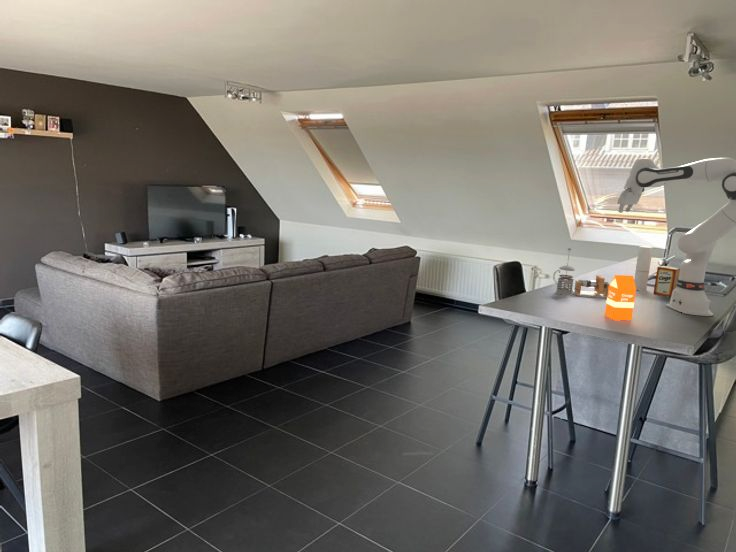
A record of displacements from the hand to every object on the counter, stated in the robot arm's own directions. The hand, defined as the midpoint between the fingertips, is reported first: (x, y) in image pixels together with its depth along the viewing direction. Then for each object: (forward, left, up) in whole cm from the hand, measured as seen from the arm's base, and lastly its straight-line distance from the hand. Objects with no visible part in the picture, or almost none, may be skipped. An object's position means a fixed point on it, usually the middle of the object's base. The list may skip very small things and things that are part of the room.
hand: (623, 212), depth 297 cm
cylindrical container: (+17, -20, -45) cm, 52 cm away
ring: (-12, +11, -43) cm, 46 cm away
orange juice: (-61, +15, -45) cm, 77 cm away
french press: (-13, +30, -45) cm, 56 cm away
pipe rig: (-12, +14, -45) cm, 49 cm away
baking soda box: (+4, -29, -45) cm, 54 cm away
